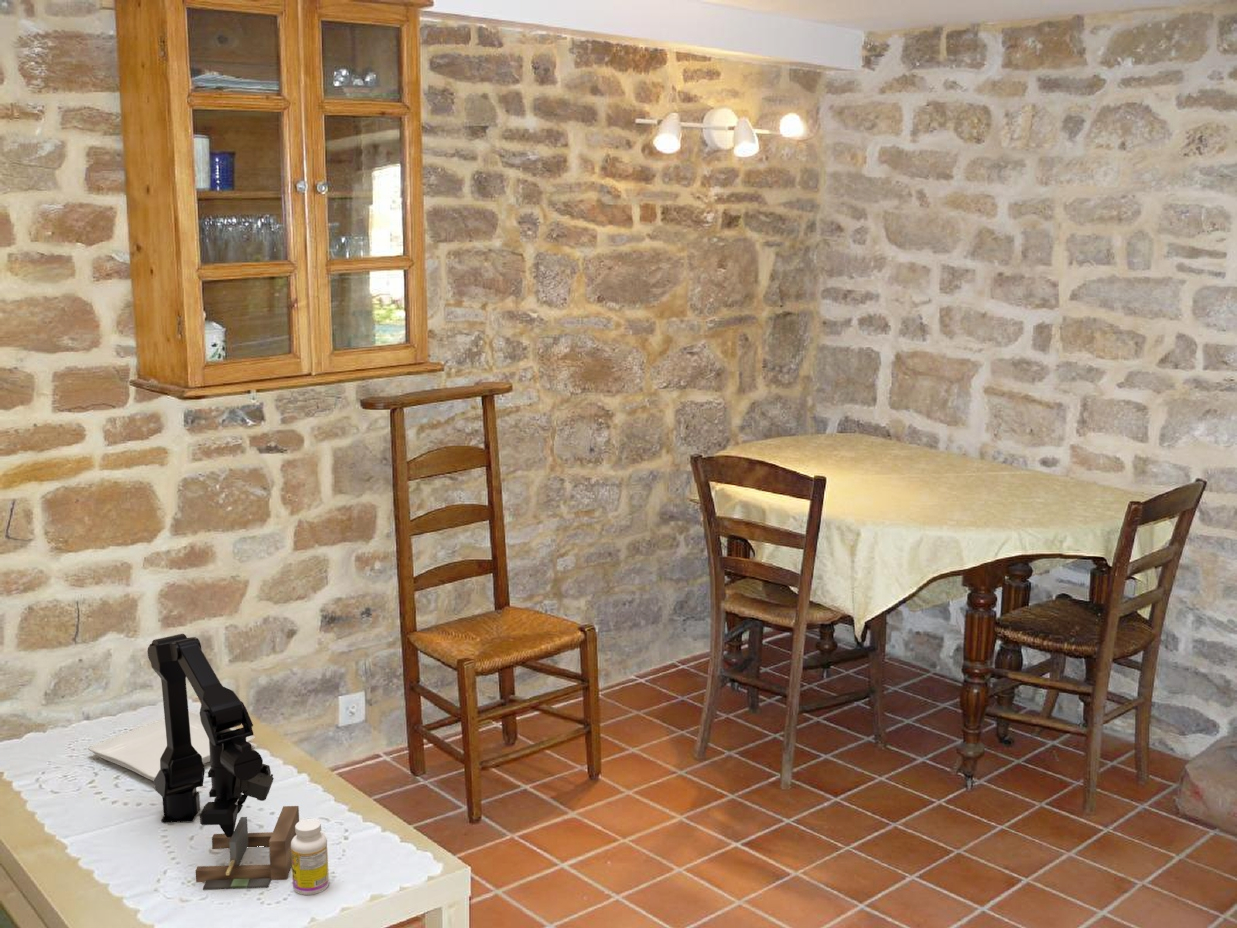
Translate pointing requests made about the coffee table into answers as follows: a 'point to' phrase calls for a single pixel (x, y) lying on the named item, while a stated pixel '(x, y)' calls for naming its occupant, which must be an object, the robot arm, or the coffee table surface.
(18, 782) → the coffee table surface
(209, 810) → the robot arm
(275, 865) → the brown wooden frame
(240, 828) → the pad
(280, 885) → the coffee table surface
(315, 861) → the supplement bottle
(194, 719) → the square plate
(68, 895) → the coffee table surface
